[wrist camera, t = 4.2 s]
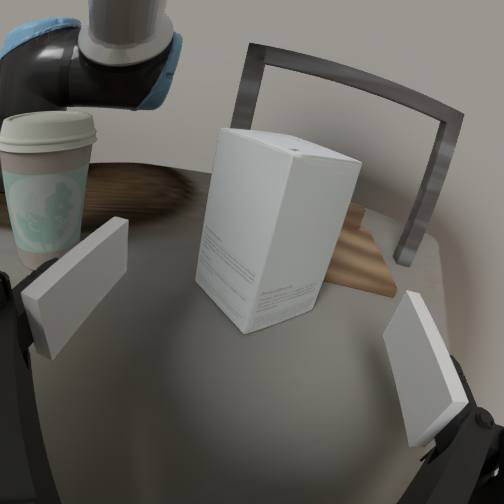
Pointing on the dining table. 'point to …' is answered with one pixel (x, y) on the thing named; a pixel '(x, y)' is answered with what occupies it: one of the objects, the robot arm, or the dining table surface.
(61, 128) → the coffee cup
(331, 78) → the keeper arch
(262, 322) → the supplement box
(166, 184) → the dining table surface
